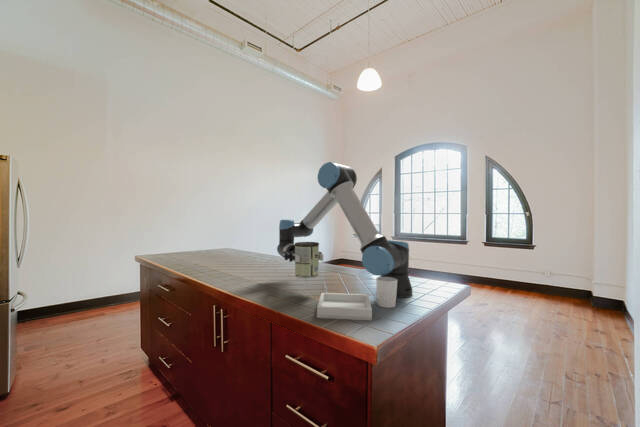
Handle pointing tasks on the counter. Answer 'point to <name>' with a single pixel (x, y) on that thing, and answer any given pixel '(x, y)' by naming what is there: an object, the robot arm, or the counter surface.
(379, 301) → the white cup
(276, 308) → the counter surface
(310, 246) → the coffee can
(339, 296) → the tray
